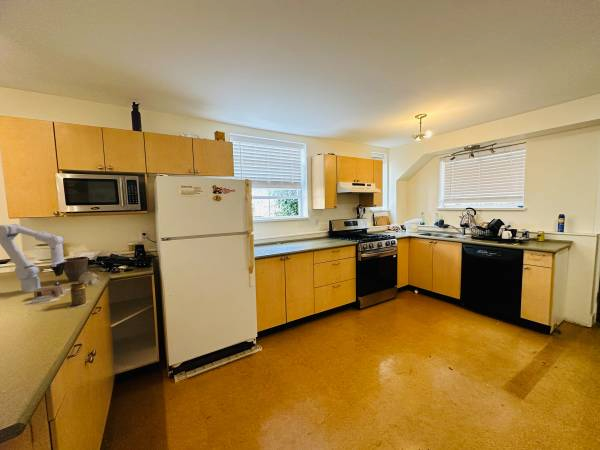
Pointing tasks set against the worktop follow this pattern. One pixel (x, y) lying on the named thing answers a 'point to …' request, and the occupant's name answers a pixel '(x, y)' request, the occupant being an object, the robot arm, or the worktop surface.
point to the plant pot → (75, 268)
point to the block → (48, 292)
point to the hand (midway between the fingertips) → (59, 275)
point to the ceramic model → (90, 279)
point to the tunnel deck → (39, 291)
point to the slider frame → (47, 297)
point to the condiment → (78, 295)
